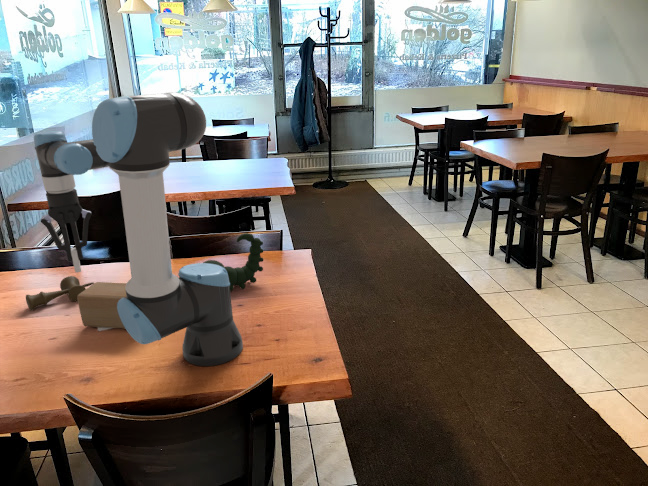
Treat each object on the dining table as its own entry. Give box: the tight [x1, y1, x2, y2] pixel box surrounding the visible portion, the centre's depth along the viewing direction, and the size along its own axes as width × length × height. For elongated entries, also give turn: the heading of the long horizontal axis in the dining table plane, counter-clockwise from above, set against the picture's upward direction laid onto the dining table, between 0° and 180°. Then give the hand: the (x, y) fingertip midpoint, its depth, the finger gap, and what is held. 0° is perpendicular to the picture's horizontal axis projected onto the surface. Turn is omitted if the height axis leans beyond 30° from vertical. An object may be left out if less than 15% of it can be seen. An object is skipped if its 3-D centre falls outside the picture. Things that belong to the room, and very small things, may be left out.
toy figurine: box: [202, 232, 264, 292], centre depth 165 cm, size 9×19×25 cm
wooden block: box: [77, 281, 127, 330], centre depth 147 cm, size 10×10×20 cm
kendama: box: [25, 275, 95, 311], centre depth 164 cm, size 6×10×20 cm
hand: (78, 270), depth 147 cm, fingers closed
